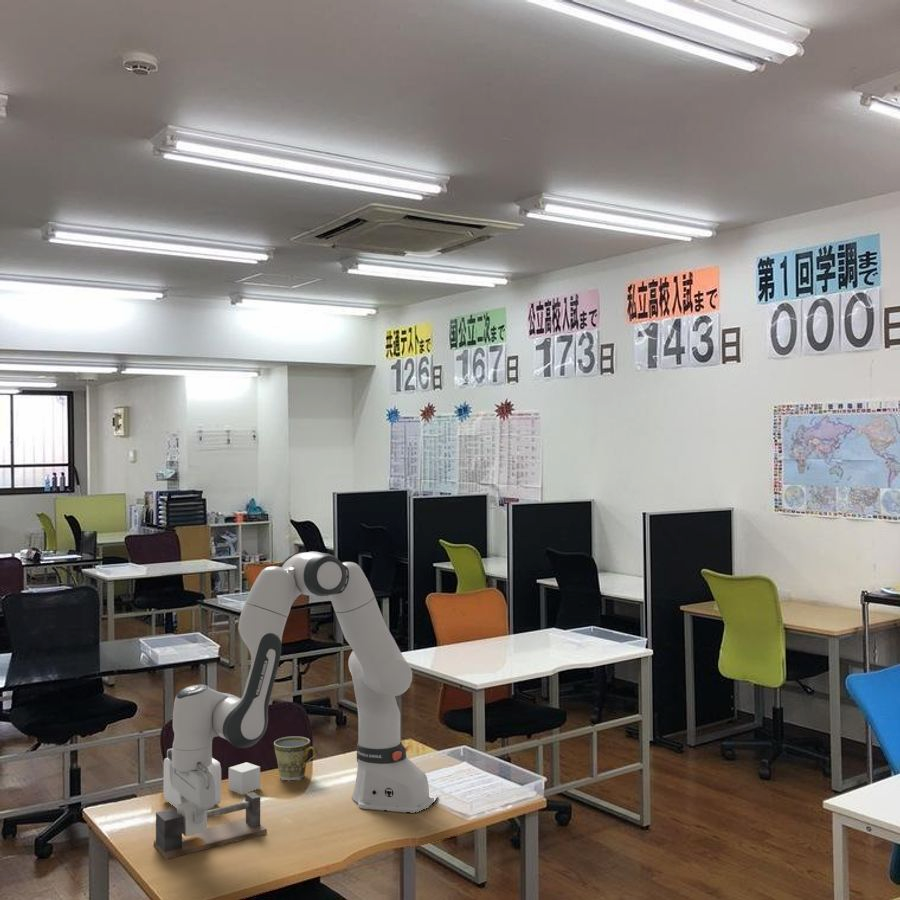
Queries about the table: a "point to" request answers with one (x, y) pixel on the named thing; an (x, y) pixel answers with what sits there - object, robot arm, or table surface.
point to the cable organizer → (173, 795)
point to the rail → (178, 844)
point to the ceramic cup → (292, 756)
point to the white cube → (191, 820)
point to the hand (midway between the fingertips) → (192, 817)
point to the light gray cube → (244, 778)
